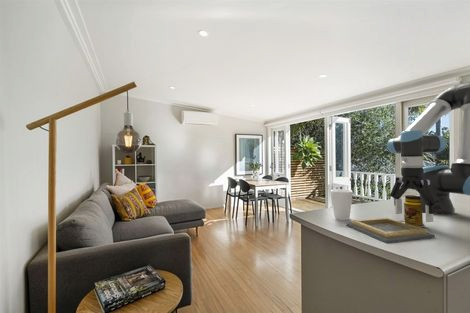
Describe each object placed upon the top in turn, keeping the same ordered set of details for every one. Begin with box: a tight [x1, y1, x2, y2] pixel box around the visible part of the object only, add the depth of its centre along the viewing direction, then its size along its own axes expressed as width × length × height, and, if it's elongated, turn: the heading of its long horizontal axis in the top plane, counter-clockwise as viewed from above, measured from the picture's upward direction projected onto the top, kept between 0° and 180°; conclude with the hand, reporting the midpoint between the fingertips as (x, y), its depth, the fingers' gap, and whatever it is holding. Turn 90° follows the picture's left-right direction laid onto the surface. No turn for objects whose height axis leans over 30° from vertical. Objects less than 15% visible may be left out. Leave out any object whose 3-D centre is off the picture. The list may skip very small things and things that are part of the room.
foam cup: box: [330, 188, 354, 221], centre depth 109 cm, size 10×9×13 cm
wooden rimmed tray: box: [345, 217, 436, 244], centre depth 89 cm, size 20×20×2 cm
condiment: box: [401, 194, 427, 228], centre depth 98 cm, size 7×8×12 cm
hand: (413, 217), depth 98 cm, fingers open, 13 cm apart
